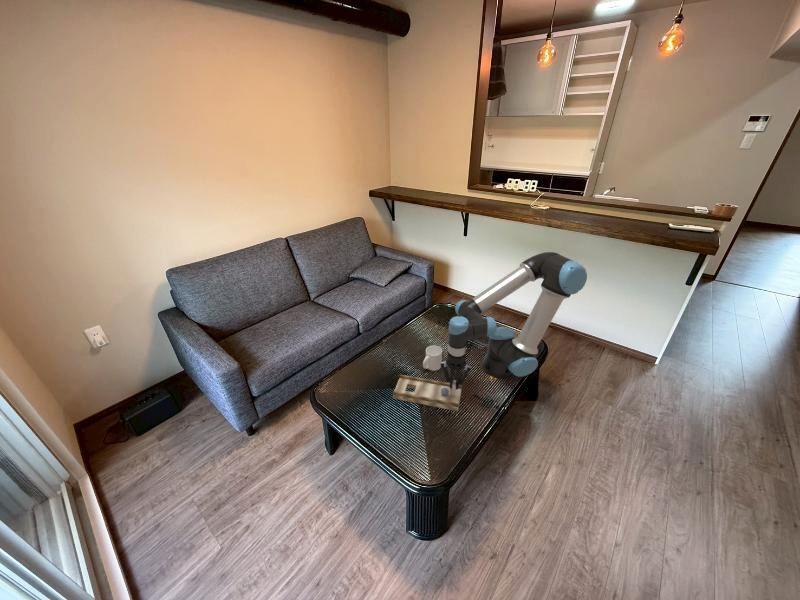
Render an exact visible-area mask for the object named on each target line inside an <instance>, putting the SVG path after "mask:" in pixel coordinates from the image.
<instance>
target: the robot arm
mask: <svg viewBox="0 0 800 600" xmlns="http://www.w3.org/2000/svg"><path fill="white" fill-rule="evenodd" d="M538 279H542V282H541V285H540V287H541V290H542V291H541V292H540V294H539V295H538V296H539V297H538V298H537V300H536V302H535V304H534V306H533V308H532V310H531V312H530V314H529V315H528V317H527V319H526V321H525V323H524V325H523V326H522V328H521V330H520V333H519V334H518V336H517V335H516V331H515V330H514V329H512V328H509V327H507V326H498V325H497V322H496V320H495V319H494V317H492V316H483V315H482V314H483V313H484V312H485V311H487V310H488V309H490V308H491V307H493V306H495V305H496V304H498V303H499V302H500V301H502V300H504V299H505V298H507V297H508V296H510V295H511V294H513V293H514V292H516V291H518V289H520V288H522V287H523V286H525V285H526V284H529V283H530V282H535V281H537V280H538ZM587 279H588V272H587V270H586V268H585V267H584V266H583V265H582V264H580V263H579V262H578V261H575V260H573V259H570V258H568V257H566V256H563V255H561V254H559V253H558V252H554V251H547V252H542V253H537V254H535V255H533V256H530V257H529V258H527V259H525V260H524V261H522V262H521V263H519V267H517V268H516V269H515V270H513V271H511V272H510V273H508V274H507V275H505V276H504V277H503V278H501V279H499V280H498V281H496V282H495V283H493V284H492V285H491V286H489V287H488V288H486V289H484V290H483V291H482V292H480V293H478V294H477V295H476V296H473V298H471V299H469V300H466V299H463V300H460V301H458V302H457V303H456V305H455V307H454V310H455V311H454V312H455V313H456V315H457V316H453V317H451V319H450V320H449V322H448V329H447V330H448V339H447V352H446V353H447V357H446V360H442V361H441V368H442V371H443V375H444V379H445V382H446V383H450V388H452V395H454V396H455V393H456V389H458V388H459V385H463V384H464V382H465V381H466V378H467V375H468V373H469V372H471V370H472V365H471V364H467V362H466V356H467V345H468V341H469V340H473V339H480V338H485V337H488V342H487V343H488V344H487V352H486V355H484V358H483V359H482V363H481V368H482V370H483V371H484V373H486V374H487V375H489V376H490V377H493V378H498V379H502V378H503V379H505V378H508V377H510V376H511V375H512V374H513V375H514V376H515V377H526V376H528V375H530V374H532V373H533V372H535V370H537V368H538V366H539V362H538V359H537V358H536V357H537V355H538V354H539V349H538V346H539V344H540V343H541V341H542V339H543V337H544V335H545V333H546V332H547V329H548V327H549V326H550V324H551V323H552V321H553V319H554V317H555V316H556V313H557V311H558V310H559V309H560V306H561V305H562V303H563V301H564V300H566V299H569V298H570V297H571V295H576V294H578V293H579V291H581V290H583V288H584V287H585V285H586V283H587ZM448 368H449V369H450V374H449V370H448ZM463 369H464V370H463ZM461 370H463V372H462V375H460V374H461ZM455 371H456V375H455V374H454V373H455ZM455 376H456V377H455ZM460 376H461V378H460ZM454 377H455V379H454Z"/></svg>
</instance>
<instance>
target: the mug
mask: <svg viewBox="0 0 800 600" xmlns="http://www.w3.org/2000/svg"><path fill="white" fill-rule="evenodd" d="M442 357H443V349H442V348H441V347H440V346H438V345H429V346H427V347H426V348H425V358H424V359H423V361H422V367H423V369H424V370H425V369H426V370H429V371H431V372H437V371H439V370H440V369H441V368H442V367H441V361H443V358H442Z"/></svg>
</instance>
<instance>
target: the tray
mask: <svg viewBox="0 0 800 600" xmlns="http://www.w3.org/2000/svg"><path fill="white" fill-rule="evenodd" d="M444 387H445V388H447V389H448V390H449V393H448V394H447V395H442V393H441V389H442V388H444ZM462 387H463V384H459V388H458V389H456V393H455V396H454V395H452V388H450V382H446V381H445V382H444V381H440V380H434V379H427V378H423V377H416V376H410V375H406V374H404V375H403V374H399V379H398V380H397V383H396V386H395V389H394V390H392V399H395V400H398V401H399V400H400V401H403V402H409V403H415V404H419V405H425V406H429V407H434V408H440V409H445V410H449V411H454V412H459V407H460V402H461V397H462V396H461V395H462V389H463V388H462ZM408 389H413V390H414V391H408Z"/></svg>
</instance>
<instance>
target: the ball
mask: <svg viewBox="0 0 800 600" xmlns="http://www.w3.org/2000/svg"><path fill="white" fill-rule="evenodd" d="M441 393H442V395H447V394H448V393H449V390H448V389H447V388H445V387H444V388H442V389H441Z"/></svg>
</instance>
